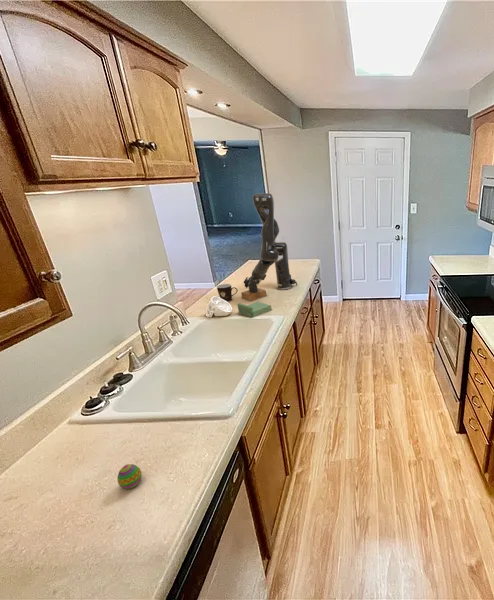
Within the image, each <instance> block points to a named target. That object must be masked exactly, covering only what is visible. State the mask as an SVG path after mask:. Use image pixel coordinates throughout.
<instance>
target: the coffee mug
mask: <svg viewBox="0 0 494 600" xmlns="http://www.w3.org/2000/svg"><path fill="white" fill-rule="evenodd" d="M233 289H235V293H233V292H232V291H233ZM216 290H217V292H218V297H220V298H222V299H223V300H225V301H227V302H228V303H229V302H232V300H233V297H234V296H235V295H236V294H237V293H238V288H237V287H232V284H231V283H221V284H218V285H216ZM232 293H233V294H232Z"/></svg>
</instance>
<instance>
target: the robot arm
mask: <svg viewBox="0 0 494 600" xmlns="http://www.w3.org/2000/svg"><path fill="white" fill-rule="evenodd" d="M252 202H253V206H254V209H255V210H256V212H257V215H258V216H259V219H260V222H261V225H262V226H261V234H260V235H261V247H260V255H259V256H260V259H259V260H258V262H257V263H256V265H255V266H254V268H253V269H252V271H251V276H250V277H249V276H246V277H245V279H244V281H243V284H244V288H246V289H247V288H248V289H249V284H251V283H253V282H254V281H256V283H257V286H258V285H259V284H260V283H261V282H262V281H264V280H265V279H266V278H267V272H268V271H269V268H270V267H271V266H272V265H274V267H275V276H276V283H277V289H278V290H280V291H281V290H282V291H285V290H290V289H291V288H293V285H296V286H298V282H297V281H296V279H293V278H292V274H290V273H291V272H290V265H289V264H290V263H289V253H288V244H287V242H283V241H282V242H281V241H280V242H279V241H278V242H276V239H277V238H278V235H279V233H280V227H279V223H278V221H277V220H276V219H275V200H274V196H273V194H272V193H270V192H269V193H268V192H267V193H265V192H261V193H259V192H258V193H254V194H253V195H252ZM266 210H267V211H266ZM279 256H280V257H281V258H280V259H279ZM250 279H251V280H252V282H251V280H250ZM249 282H250V283H249Z"/></svg>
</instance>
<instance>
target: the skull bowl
mask: <svg viewBox="0 0 494 600" xmlns="http://www.w3.org/2000/svg"><path fill="white" fill-rule="evenodd" d="M233 309H234V308H233V307H232V305H231V304H230V303H229V302H227V301H225V300H223V299H222V298H220V296H215V295H214V296H212V297H211V298H210V299H209V300H208V302H207V305H206V308H205V309H204V311H205V317H207V318H212V317H213V316H215V317H227V316H228V315H230V314H231V313H232V312H233Z"/></svg>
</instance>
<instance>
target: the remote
mask: <svg viewBox="0 0 494 600" xmlns="http://www.w3.org/2000/svg"><path fill="white" fill-rule="evenodd" d="M250 280H251V279H250ZM251 282H252V280H251ZM249 283H250V282H249ZM257 288H258V285H257V283H256V281H254V282H253V283H251V284H249V286H248V290H249V291H250V292H257V291H258V289H257Z"/></svg>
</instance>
